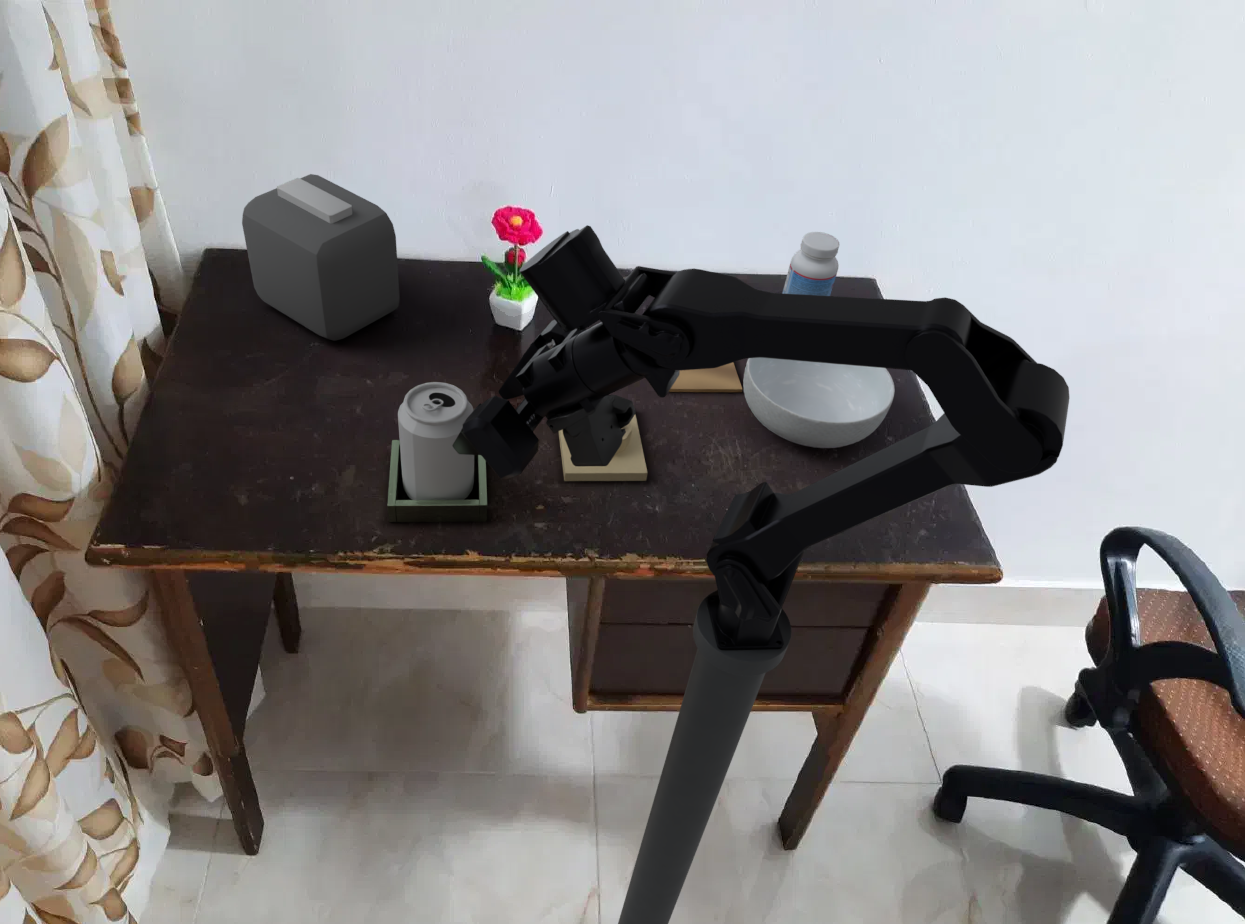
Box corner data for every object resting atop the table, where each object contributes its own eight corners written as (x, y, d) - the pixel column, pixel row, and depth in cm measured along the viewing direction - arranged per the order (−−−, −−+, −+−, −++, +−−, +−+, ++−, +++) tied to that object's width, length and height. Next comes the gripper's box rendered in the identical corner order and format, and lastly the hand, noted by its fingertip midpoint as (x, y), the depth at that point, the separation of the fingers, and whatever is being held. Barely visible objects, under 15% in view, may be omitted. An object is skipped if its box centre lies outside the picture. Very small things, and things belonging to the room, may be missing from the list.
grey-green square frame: (486, 521, 98) (487, 504, 96) (388, 522, 97) (387, 505, 95) (484, 456, 104) (485, 439, 103) (393, 456, 104) (391, 439, 102)
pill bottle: (831, 325, 127) (855, 249, 119) (792, 332, 125) (814, 256, 117) (806, 300, 130) (828, 225, 122) (768, 307, 129) (788, 232, 121)
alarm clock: (400, 318, 122) (393, 205, 111) (333, 356, 115) (318, 240, 104) (316, 269, 128) (301, 158, 117) (248, 303, 122) (225, 189, 111)
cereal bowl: (817, 491, 104) (835, 442, 99) (705, 413, 112) (716, 365, 107) (905, 429, 112) (925, 382, 107) (794, 361, 120) (808, 314, 115)
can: (487, 482, 102) (489, 394, 93) (445, 523, 97) (443, 435, 88) (431, 455, 104) (428, 366, 95) (388, 493, 100) (380, 404, 91)
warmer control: (646, 481, 103) (649, 460, 101) (564, 481, 102) (566, 460, 100) (631, 410, 112) (635, 390, 109) (556, 410, 111) (557, 390, 109)
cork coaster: (741, 392, 115) (742, 389, 115) (669, 392, 114) (669, 389, 114) (727, 348, 121) (727, 345, 121) (658, 348, 121) (658, 344, 120)
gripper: (606, 502, 77) (485, 545, 88) (684, 379, 89) (568, 430, 100) (524, 395, 73) (408, 453, 84) (617, 282, 85) (504, 346, 96)
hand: (479, 421), depth 91 cm, fingers open, 9 cm apart
